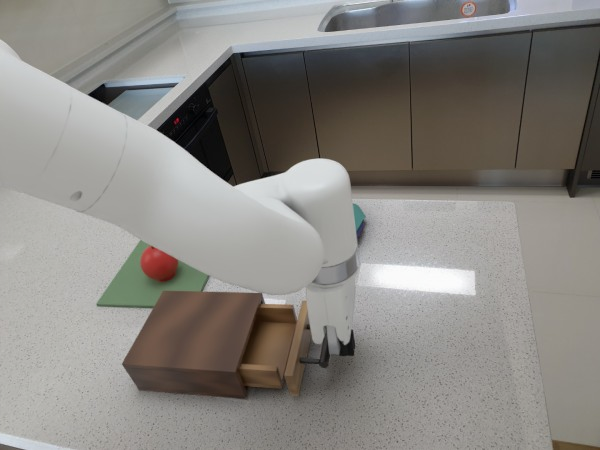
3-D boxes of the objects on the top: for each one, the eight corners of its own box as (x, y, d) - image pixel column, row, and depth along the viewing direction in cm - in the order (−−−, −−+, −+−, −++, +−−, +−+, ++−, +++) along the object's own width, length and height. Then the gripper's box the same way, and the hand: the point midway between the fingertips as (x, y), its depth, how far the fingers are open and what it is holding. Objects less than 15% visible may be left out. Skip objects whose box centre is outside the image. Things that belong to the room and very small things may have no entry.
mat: (193, 309, 82) (192, 307, 82) (97, 306, 87) (95, 303, 87) (227, 237, 97) (227, 235, 97) (144, 238, 102) (143, 236, 102)
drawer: (339, 322, 73) (336, 301, 70) (328, 398, 63) (323, 378, 60) (219, 317, 78) (211, 297, 75) (190, 387, 68) (180, 368, 65)
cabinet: (270, 320, 77) (262, 292, 73) (246, 399, 66) (235, 372, 62) (175, 316, 81) (163, 290, 77) (138, 390, 70) (121, 364, 66)
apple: (174, 288, 86) (161, 258, 82) (141, 287, 88) (126, 258, 84) (188, 262, 92) (176, 233, 87) (157, 262, 94) (143, 233, 89)
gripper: (308, 220, 62) (326, 310, 73) (284, 302, 51) (310, 395, 62) (364, 219, 60) (373, 312, 71) (352, 305, 49) (365, 400, 60)
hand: (344, 350), depth 67 cm, fingers closed
